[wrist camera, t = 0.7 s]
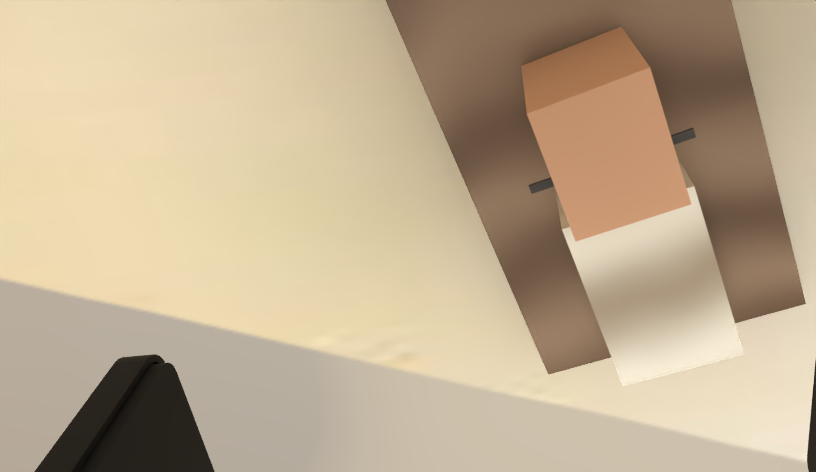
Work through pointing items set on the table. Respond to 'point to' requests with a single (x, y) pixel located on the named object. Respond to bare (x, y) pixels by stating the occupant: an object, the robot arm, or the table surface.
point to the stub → (603, 134)
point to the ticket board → (514, 157)
